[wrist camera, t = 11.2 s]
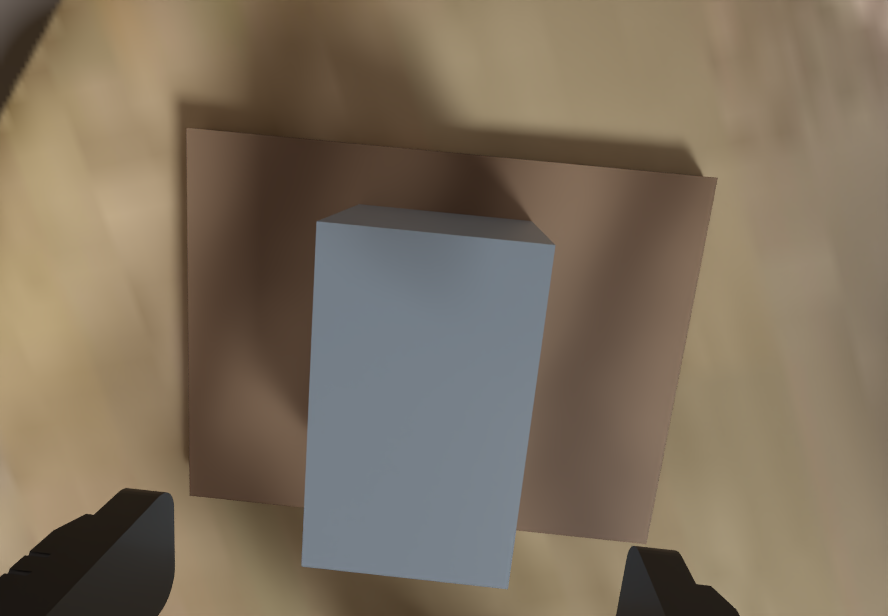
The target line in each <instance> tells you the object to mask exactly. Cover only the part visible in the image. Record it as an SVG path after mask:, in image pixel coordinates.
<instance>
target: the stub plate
mask: <svg viewBox="0 0 888 616" xmlns="http://www.w3.org/2000/svg"><path fill="white" fill-rule="evenodd" d="M186 144H187V252H188V360H189V468H190V496H199V497H208V498H218V499H227V500H237V501H246V502H255V503H265V504H274V505H284V506H293V507H302V508H304V498H305V475H306V452H307V429H308V406H309V383H310V360H311V337H312V315H313V292H314V269H315V246H316V223H317V221H319V220H321V219H324V218H326V217H329V216H331V215H334V214H336V213H338V212H341V211H343V210H346V209H348V208H351V207H353V206H356V205H358V204H362V205H372V206H382V207H393V208H403V209H413V210H423V211H433V212H443V213H453V214H464V215H474V216H484V217H494V218H504V219H514V220H524V221H532V222H533V223H534V224H535V225H536V226H537V227H538V228H539V229H540V230H541V231H542V232H543V233H544V234H545V235H546V236H547V237H548V238H549V239H550V240H551V241H552V242H553V243H554V244H555V252H554V260H553V267H552V274H551V281H550V288H549V296H548V303H547V310H546V317H545V324H544V332H543V339H542V346H541V353H540V361H539V368H538V375H537V382H536V389H535V397H534V404H533V411H532V418H531V426H530V433H529V440H528V447H527V454H526V462H525V469H524V476H523V483H522V490H521V498H520V505H519V512H518V519H517V527H516V530H519V531H528V532H538V533H547V534H556V535H566V536H575V537H585V538H594V539H603V540H613V541H622V542H632V543H641V544H646V543H647V538H648V533H649V527H650V522H651V517H652V512H653V507H654V502H655V497H656V492H657V486H658V481H659V476H660V471H661V466H662V461H663V456H664V451H665V445H666V440H667V435H668V430H669V425H670V420H671V415H672V410H673V404H674V399H675V394H676V389H677V384H678V379H679V374H680V369H681V363H682V358H683V353H684V348H685V343H686V338H687V333H688V328H689V322H690V317H691V312H692V307H693V302H694V297H695V292H696V287H697V281H698V276H699V271H700V266H701V261H702V256H703V251H704V246H705V240H706V235H707V230H708V225H709V220H710V215H711V210H712V205H713V199H714V194H715V189H716V184H717V179H718V178H714V177H703V176H692V175H682V174H671V173H661V172H650V171H639V170H629V169H618V168H608V167H597V166H586V165H576V164H565V163H555V162H544V161H533V160H523V159H512V158H502V157H491V156H480V155H470V154H459V153H449V152H438V151H427V150H417V149H406V148H396V147H385V146H374V145H364V144H353V143H343V142H332V141H321V140H311V139H300V138H290V137H279V136H268V135H258V134H247V133H237V132H226V131H215V130H205V129H194V128H186Z"/></svg>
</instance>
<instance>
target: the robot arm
mask: <svg viewBox="0 0 888 616" xmlns="http://www.w3.org/2000/svg"><path fill="white" fill-rule="evenodd" d="M174 573H175V548H174V502H173V498H172V496H171V494H169V493H166V492H157V491H148V490H139V489H130V488H125V489H122V490H121V491H120V492H118V493H117V494H116V495H115V496H114V497H113V498H112V499H111V500H110V501H108V502H107V503H106V504H105V505H104V506H103V507H102V508H101V509H100V510H99V511H98V512H96V513H95V514H94V515H91V514H85V515H83V516H81V517H79V518H77V519H75V520H73V521H71V522H69V523H67V524H65V525H63V526H61V527H59V528H57V529H55V530H54V531H53V532H51V533H50V534H49V535H48V536H47V537H46V538H44V539H43V540H42V541H41V542H40V543H39V544H38V545H36V546H35V547H34V548H33V549H32V550H31V551H30V553H29V555H28V556H26V555H25V556H24V557H23V558H21V559H20V560H19V561H18V562H17V563H16V564H14V565H13V566H12V567H11V568H10V569H9V572H8V574H3V575H2V576H1V577H0V616H158V615H159V613H160V612H161V611H162V609H163V607H164V606H165V604H166V602H167V599H168V597H169V594H170V591H171V588H172V584H173V580H174ZM616 616H740V615H739V613H738V612H737V610H736V609H735V608H734V607H733V606H732V605H731V604H730V603H729V602H728V601H726V600H725V599H724V598H723V597H722V596H721V595H720V594H719V593H718V592H717V591H716V590H715V589H713V588H712V587H711V586H707V585H698V584H696V583H695V581H694V579H693V577H692V575H691V573H690V572H689V570H688V568H687V566H686V564H685V562H684V560H683V558H682V556H681V555H680V553H679V552H678V551H675V550H666V549H657V548H648V547H639V546H632V547H631V548H630V550H629V552H628V555H627V559H626V565H625V570H624V576H623V581H622V586H621V592H620V597H619V603H618V608H617V614H616Z"/></svg>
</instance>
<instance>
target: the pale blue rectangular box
mask: <svg viewBox="0 0 888 616" xmlns="http://www.w3.org/2000/svg"><path fill="white" fill-rule="evenodd" d="M554 252H555V244H554V243H553V242H552V241H551V240H550V239H549V238H548V237H547V236H546V235H545V234H544V233H543V232H542V231H541V230H540V229H539V228H538V227H537V226H536V225H535V224H534V223H533V222H532V221H524V220H514V219H504V218H494V217H484V216H474V215H464V214H453V213H443V212H433V211H423V210H413V209H403V208H393V207H382V206H372V205H362V204H358V205H356V206H353V207H351V208H348V209H346V210H343V211H341V212H338V213H336V214H334V215H331V216H329V217H326V218H324V219H321V220H319V221H317V223H316V246H315V269H314V292H313V315H312V337H311V360H310V383H309V406H308V429H307V452H306V475H305V498H304V520H303V543H302V567H311V568H320V569H329V570H338V571H347V572H356V573H365V574H374V575H383V576H393V577H402V578H411V579H420V580H429V581H438V582H447V583H456V584H465V585H474V586H483V587H492V588H501V589H508V584H509V577H510V570H511V563H512V555H513V548H514V541H515V534H516V527H517V519H518V512H519V505H520V498H521V490H522V483H523V476H524V469H525V462H526V454H527V447H528V440H529V433H530V426H531V418H532V411H533V404H534V397H535V389H536V382H537V375H538V368H539V361H540V353H541V346H542V339H543V332H544V324H545V317H546V310H547V303H548V296H549V288H550V281H551V274H552V267H553V260H554Z"/></svg>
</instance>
